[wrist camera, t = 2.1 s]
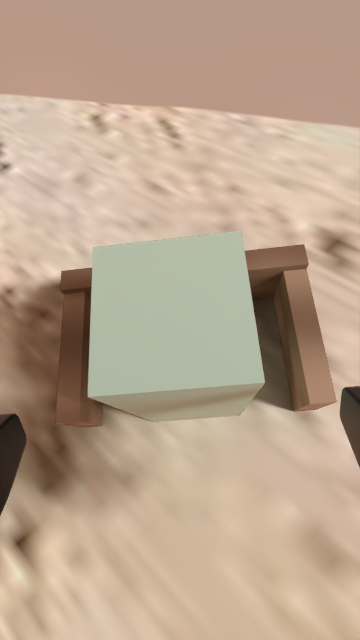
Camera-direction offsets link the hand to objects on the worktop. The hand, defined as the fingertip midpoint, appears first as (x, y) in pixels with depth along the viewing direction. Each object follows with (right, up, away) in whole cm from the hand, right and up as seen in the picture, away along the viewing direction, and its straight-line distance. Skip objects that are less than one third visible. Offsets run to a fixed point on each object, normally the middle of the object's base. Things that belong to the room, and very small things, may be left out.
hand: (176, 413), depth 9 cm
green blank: (+1, -1, +11) cm, 11 cm away
